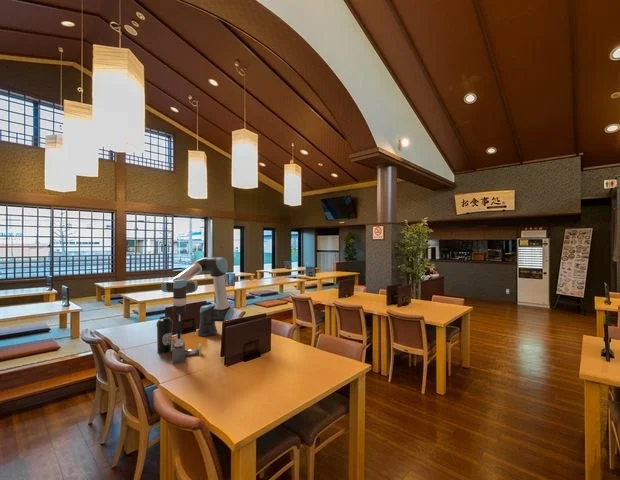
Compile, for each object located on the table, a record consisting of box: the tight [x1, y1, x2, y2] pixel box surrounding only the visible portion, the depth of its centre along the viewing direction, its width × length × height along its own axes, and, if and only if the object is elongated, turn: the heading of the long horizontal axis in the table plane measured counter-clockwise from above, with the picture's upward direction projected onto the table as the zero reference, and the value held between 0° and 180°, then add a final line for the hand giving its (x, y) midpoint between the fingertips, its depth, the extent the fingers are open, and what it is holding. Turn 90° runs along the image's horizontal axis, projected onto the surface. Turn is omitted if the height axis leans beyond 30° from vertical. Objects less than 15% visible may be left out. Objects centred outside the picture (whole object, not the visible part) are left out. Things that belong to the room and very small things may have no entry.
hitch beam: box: [171, 337, 186, 365], centre depth 196 cm, size 22×7×11 cm, turn 25°
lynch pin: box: [185, 342, 203, 357], centre depth 201 cm, size 10×7×6 cm, turn 115°
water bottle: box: [156, 315, 174, 354], centre depth 207 cm, size 10×10×23 cm
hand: (178, 343), depth 187 cm, fingers closed
